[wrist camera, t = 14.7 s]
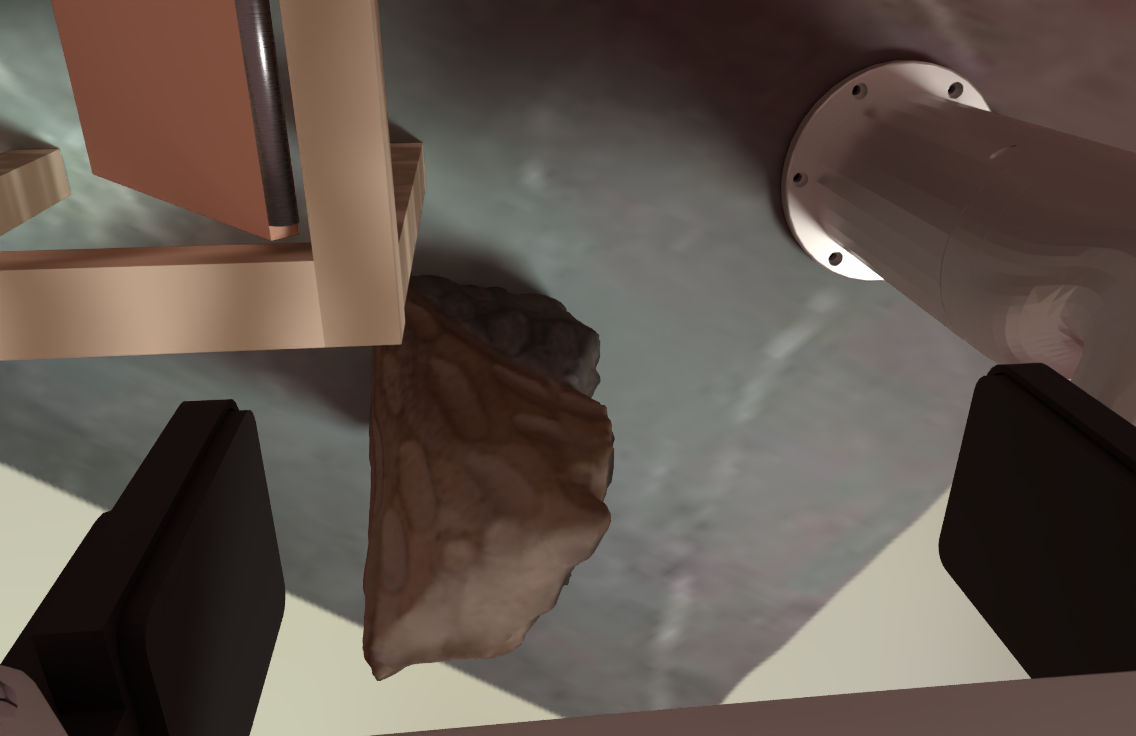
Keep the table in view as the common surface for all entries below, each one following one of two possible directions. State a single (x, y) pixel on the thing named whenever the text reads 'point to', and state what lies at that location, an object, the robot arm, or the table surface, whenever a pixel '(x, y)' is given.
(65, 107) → the table surface
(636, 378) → the table surface
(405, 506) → the tree stump
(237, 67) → the trapdoor
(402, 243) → the trapdoor frame
